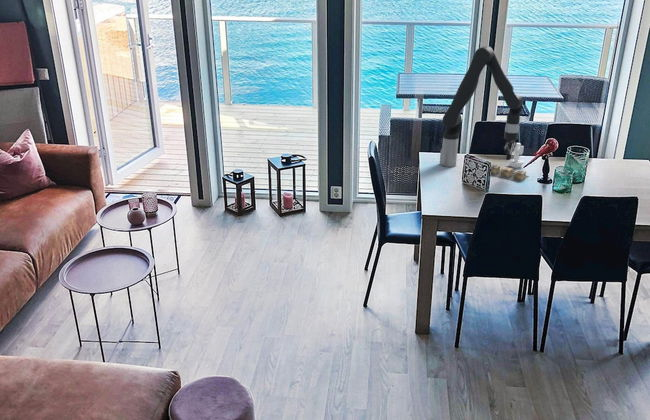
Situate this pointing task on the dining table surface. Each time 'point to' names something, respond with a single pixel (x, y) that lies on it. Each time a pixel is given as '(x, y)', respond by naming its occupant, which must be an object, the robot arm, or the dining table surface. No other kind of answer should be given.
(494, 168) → the marked block 1
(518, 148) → the figurine
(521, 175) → the marked block 2
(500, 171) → the mat
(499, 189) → the dining table surface
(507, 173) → the plain block
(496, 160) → the dining table surface
